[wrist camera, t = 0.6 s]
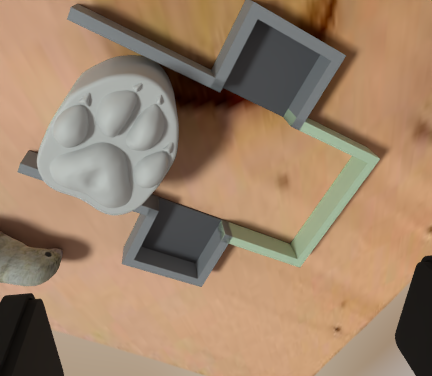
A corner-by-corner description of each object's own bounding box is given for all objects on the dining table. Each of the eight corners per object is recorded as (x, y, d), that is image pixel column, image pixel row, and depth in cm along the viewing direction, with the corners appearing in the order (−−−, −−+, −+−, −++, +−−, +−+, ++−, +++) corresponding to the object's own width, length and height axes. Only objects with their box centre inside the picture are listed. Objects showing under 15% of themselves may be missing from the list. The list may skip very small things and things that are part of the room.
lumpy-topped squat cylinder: (41, 142, 40) (15, 183, 33) (104, 27, 36) (92, 46, 28) (133, 189, 44) (129, 236, 37) (200, 91, 40) (211, 122, 32)
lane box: (8, 212, 43) (-1, 228, 41) (105, -84, 32) (101, -88, 29) (265, 290, 54) (270, 306, 52) (406, 92, 43) (423, 100, 40)
